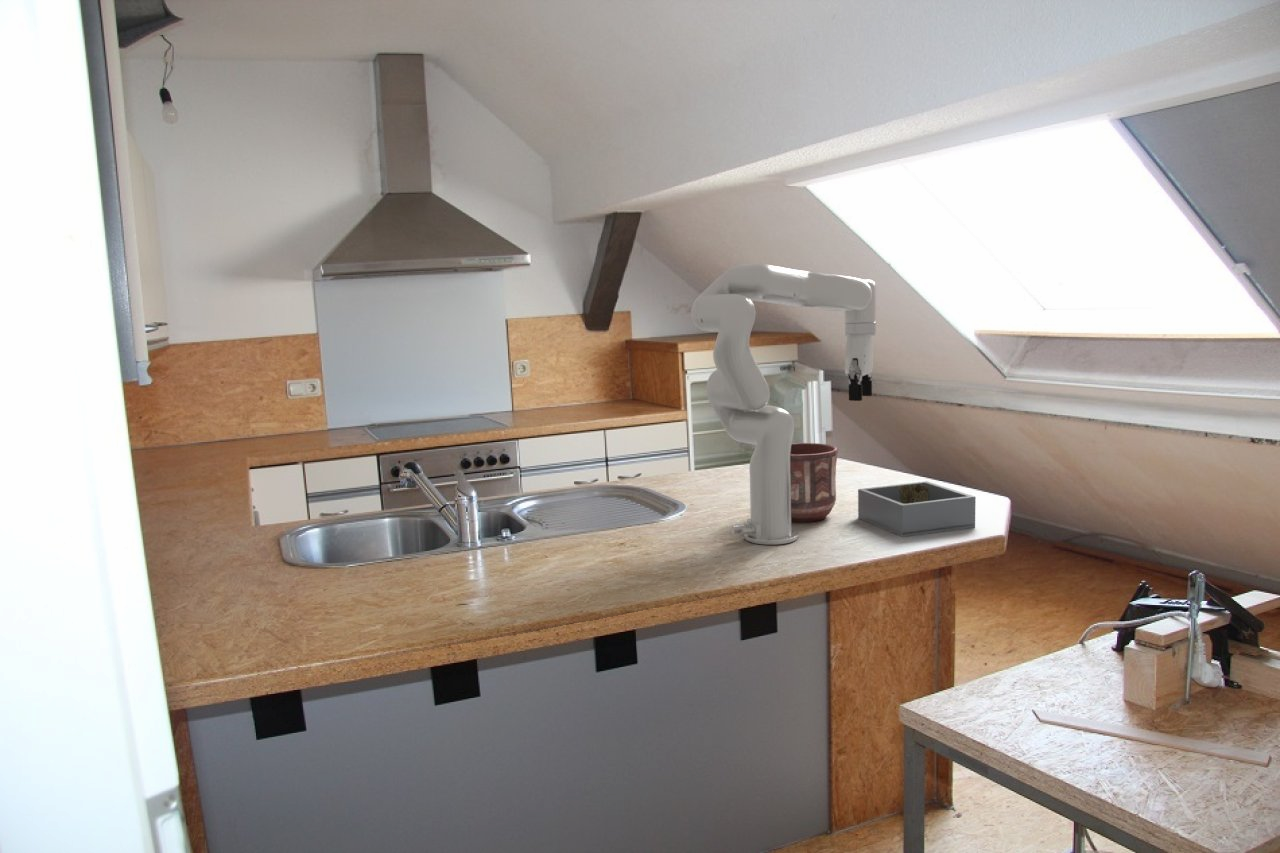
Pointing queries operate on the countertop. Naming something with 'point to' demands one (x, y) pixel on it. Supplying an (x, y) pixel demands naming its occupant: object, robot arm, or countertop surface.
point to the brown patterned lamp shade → (914, 493)
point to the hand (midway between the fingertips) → (860, 398)
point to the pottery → (812, 481)
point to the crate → (916, 510)
